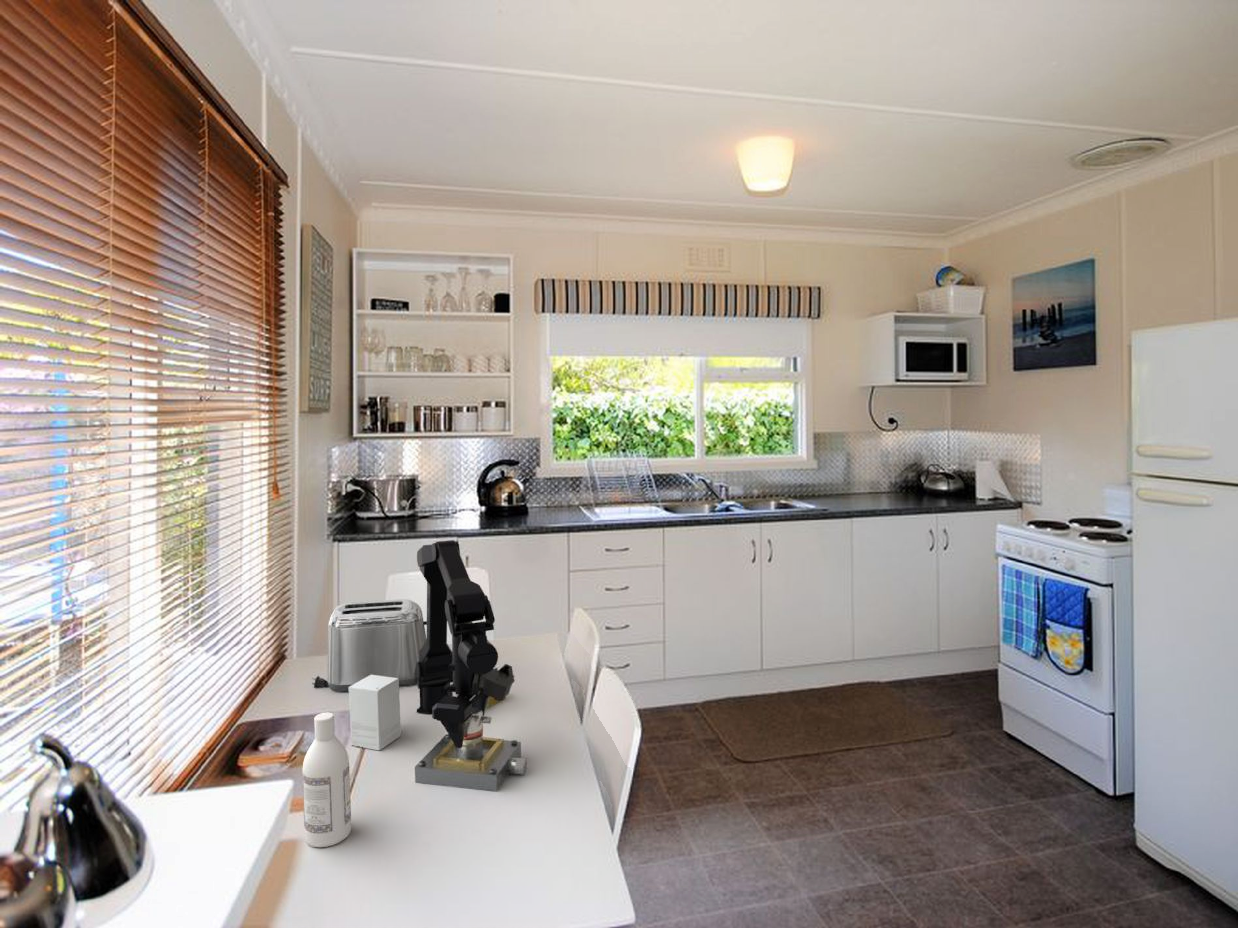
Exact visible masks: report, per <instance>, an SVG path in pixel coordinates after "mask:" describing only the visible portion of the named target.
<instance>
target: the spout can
mask: <svg viewBox="0 0 1238 928" xmlns="http://www.w3.org/2000/svg"><path fill="white" fill-rule="evenodd" d="M471 714H472V716H471V717H470V718H469V719H468V720H467V721H466V722H465V730H464V739H463V745H462V748H456V754H457V757H458V758H459V759H465V760H473V759H477V758H479V757H480V756H482V754H483V737H484V725H483V724H489V725H490V724H491V722H492V717H491V716H485V715H484V716H483V712H482V710H481V709H478V708H472V711H471Z"/></svg>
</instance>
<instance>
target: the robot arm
mask: <svg viewBox="0 0 1238 928" xmlns="http://www.w3.org/2000/svg"><path fill="white" fill-rule="evenodd" d="M460 549H461V547H460V544H459V542H458V540H456V541H455V540H454V539H450V540H439V541H435V542H432V544H424V545H422V547H420V548H419V549H418V550H417V552H416V563H417V566H418V568H419V570H420V572H421V574H422V576H423V578H424V579H425V580H426V621H427V625H426V639H427V641H426V642H425V644H424V645H423V647H422V648H421V650H420V651H419V662H417V663H416V667H415V671H414V679H415V683H416V684H415V686H416V687H417V689H418V690H419V707H418V708H417V709H416V713H419V714H420V713H421V714H430V715H432V719H433V720H436V721H439V722H440V723H441V725H442V726H443V728H444V729H445V731H446V732H447V734H449V736H450V738H451V739H452V741H453V743H454V745H455V746H456V748H462V745H463V739H464V730H465V722H466V721H467V720H468V719H469V718H470V717H471V716H472V714H471V711H472V708H478V709H481V710H482V712H483V716H485V715H486V709H487V708H486V706H487V702H488V699H489V696H490V697H493V698H494V699H495V700H497V701H501V702H502V701H505V700H504V698H506V697H508V695H509V694H510V691H511V688H512V685H513V684H514V683H515V675H514V671H513V666H512V665H509V664H508V663H505V664H504V665H502V667H499V669H498V668H497V667H496V666H497V663H498V662H499V661H498V659H499V654H498V651H497V649H496V646H494V645H493V644H492V643H491V642H490V641H489V639H488V635H487V632H489V631H490V632H491V631H494V630H495V626H494V623H495V621H496V620H495V616H494V610H493V608H492V607H493V606H492V604H491V601H490V600H489V597H488V596H487V594H485V593H484V590H483V589H482V587H481V585H480V584H478V583H476V582H474V581H472V580H471V578H470V577H469V574H468V571H467V569H466V566H465V564H464V561H463V558H462V556H461V550H460ZM484 619H485V620H484ZM482 620H484V621H482ZM448 628H449V633H450V634H451V644H452V645H451V648H450V645H449V644H448ZM421 677H422V678H421ZM453 693H455V695H456V696H453Z"/></svg>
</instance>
